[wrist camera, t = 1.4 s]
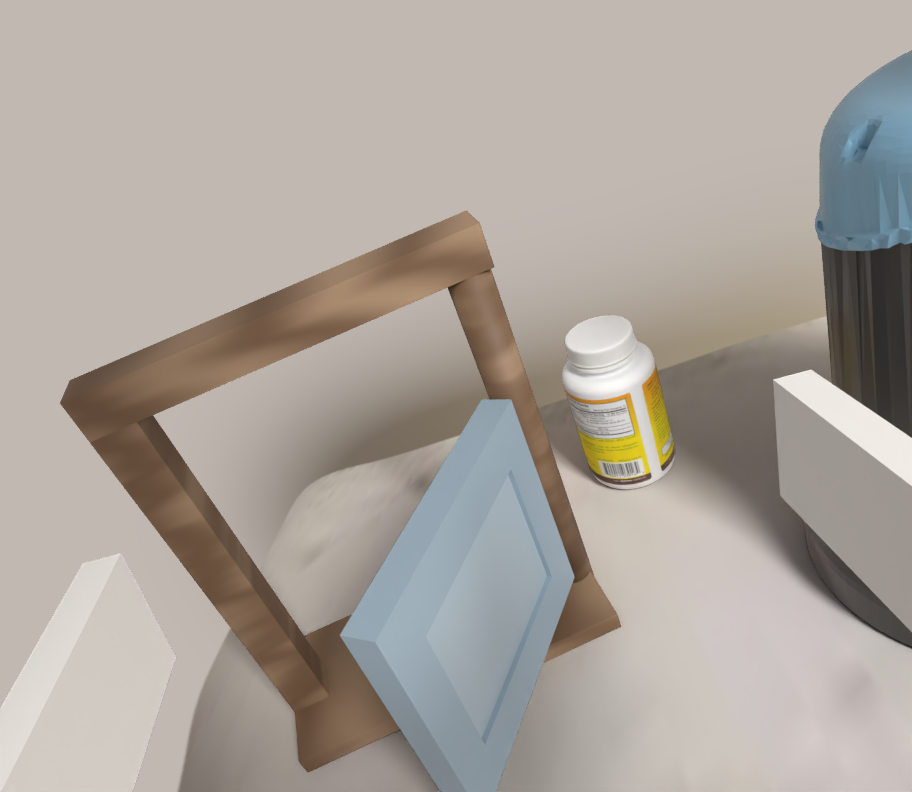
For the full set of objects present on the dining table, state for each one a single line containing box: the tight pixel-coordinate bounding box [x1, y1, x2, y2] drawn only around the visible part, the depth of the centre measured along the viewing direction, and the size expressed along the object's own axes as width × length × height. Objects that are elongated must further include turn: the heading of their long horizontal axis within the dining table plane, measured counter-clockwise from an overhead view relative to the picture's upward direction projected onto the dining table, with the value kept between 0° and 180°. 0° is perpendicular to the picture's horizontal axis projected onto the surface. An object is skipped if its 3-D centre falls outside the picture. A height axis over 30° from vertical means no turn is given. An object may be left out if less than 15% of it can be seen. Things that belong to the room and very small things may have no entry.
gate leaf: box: [340, 399, 574, 792], centre depth 32 cm, size 13×2×12 cm, turn 156°
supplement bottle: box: [562, 315, 675, 489], centre depth 46 cm, size 6×6×10 cm
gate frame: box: [60, 211, 621, 772], centre depth 36 cm, size 18×8×22 cm, turn 106°
